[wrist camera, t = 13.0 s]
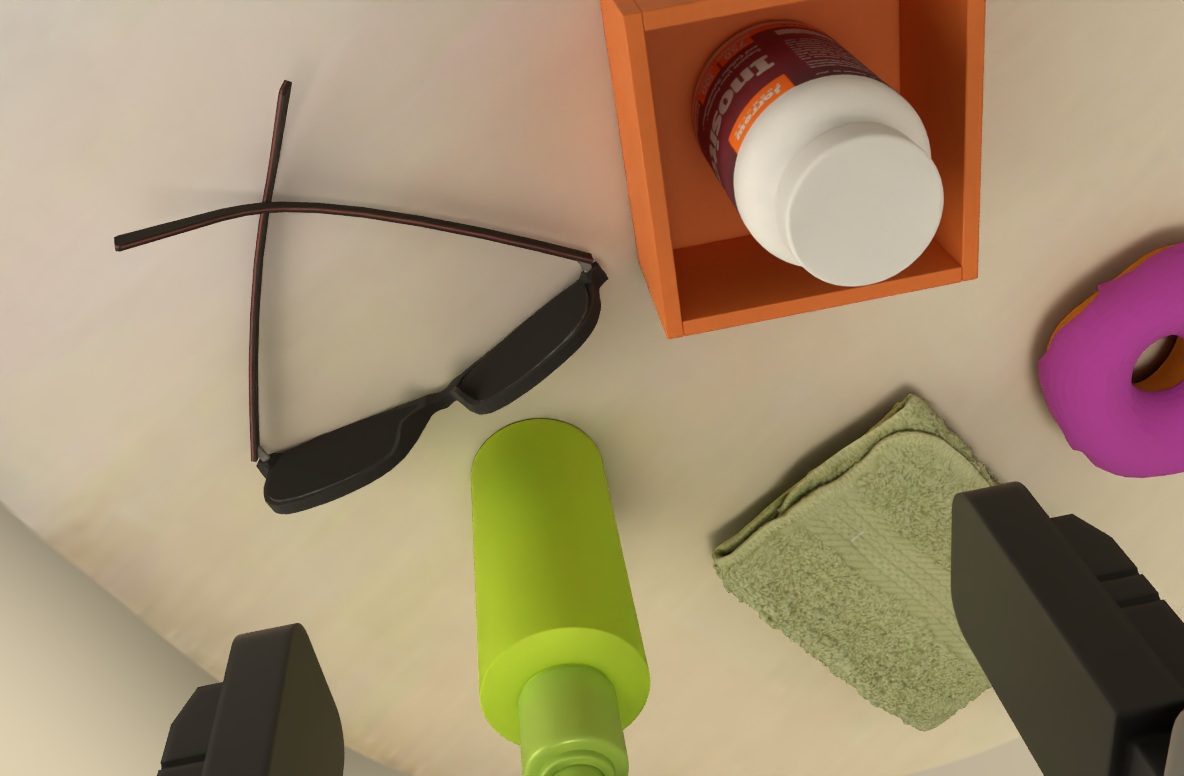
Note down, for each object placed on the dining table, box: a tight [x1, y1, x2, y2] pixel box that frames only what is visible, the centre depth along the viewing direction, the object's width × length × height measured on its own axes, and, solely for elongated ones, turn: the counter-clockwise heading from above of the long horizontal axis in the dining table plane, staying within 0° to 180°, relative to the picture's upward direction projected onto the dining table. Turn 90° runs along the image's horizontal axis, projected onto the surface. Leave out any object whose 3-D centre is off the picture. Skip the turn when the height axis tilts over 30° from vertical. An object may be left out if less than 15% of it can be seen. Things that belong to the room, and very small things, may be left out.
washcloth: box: [712, 393, 999, 731], centre depth 53 cm, size 13×18×3 cm
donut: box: [1038, 242, 1184, 478], centre depth 47 cm, size 10×10×5 cm
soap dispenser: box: [471, 419, 650, 776], centre depth 40 cm, size 6×7×20 cm
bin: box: [600, 0, 986, 339], centre depth 39 cm, size 11×11×7 cm
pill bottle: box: [692, 21, 944, 286], centre depth 36 cm, size 6×6×11 cm
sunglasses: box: [114, 80, 608, 514], centre depth 41 cm, size 17×14×5 cm
